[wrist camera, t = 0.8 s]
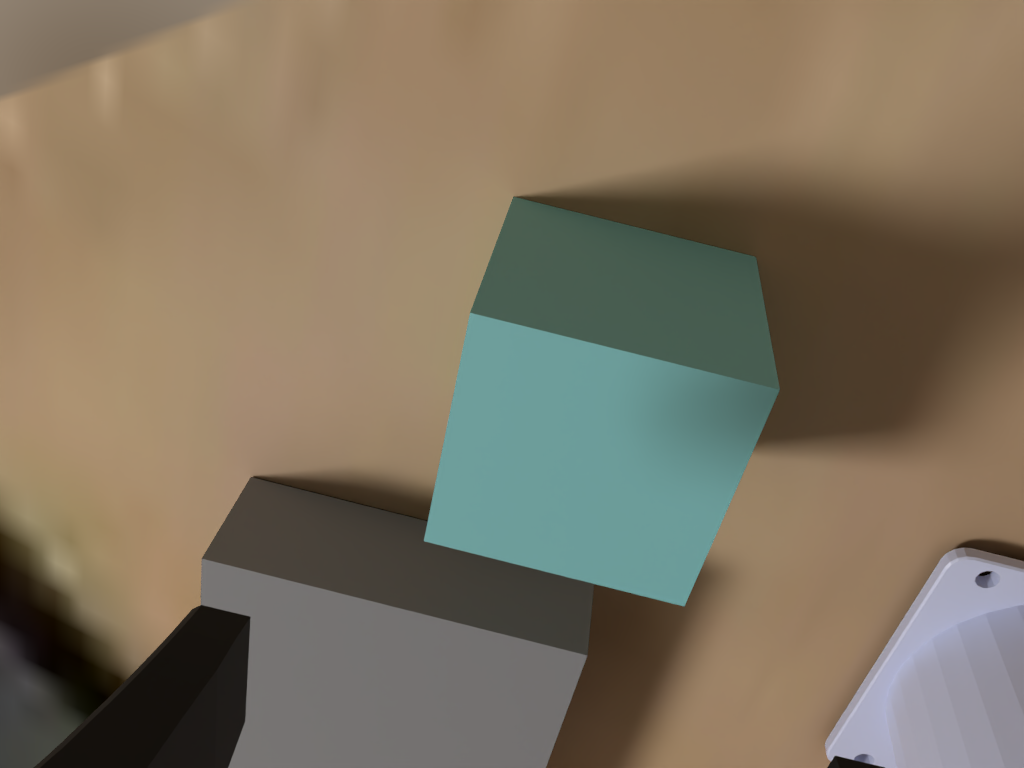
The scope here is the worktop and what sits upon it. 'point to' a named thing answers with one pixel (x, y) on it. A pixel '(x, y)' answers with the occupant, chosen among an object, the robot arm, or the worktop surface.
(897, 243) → the worktop surface
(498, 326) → the teal cube
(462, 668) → the base slab
